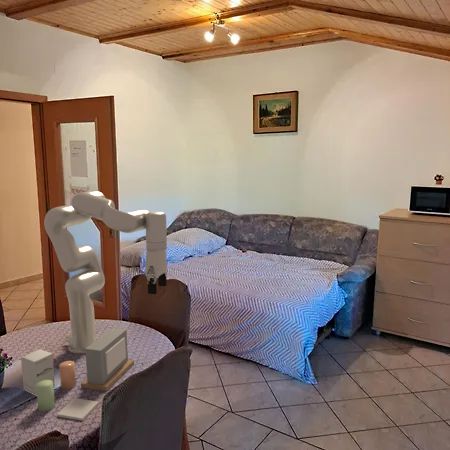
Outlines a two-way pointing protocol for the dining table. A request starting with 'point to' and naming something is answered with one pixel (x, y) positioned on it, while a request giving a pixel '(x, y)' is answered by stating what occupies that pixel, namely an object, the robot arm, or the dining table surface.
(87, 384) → the box
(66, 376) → the terracotta part
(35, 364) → the supplement box
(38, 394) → the sage part
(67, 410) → the grey pad
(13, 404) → the dining table surface
